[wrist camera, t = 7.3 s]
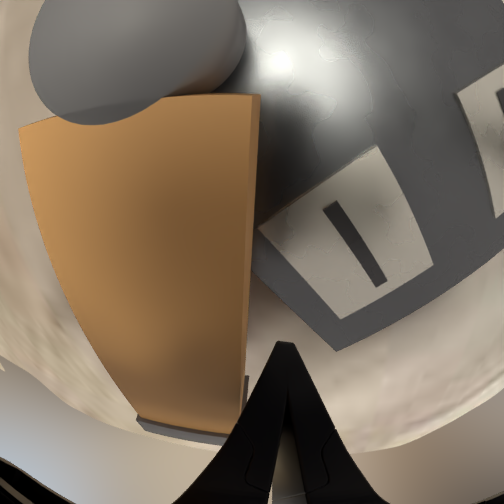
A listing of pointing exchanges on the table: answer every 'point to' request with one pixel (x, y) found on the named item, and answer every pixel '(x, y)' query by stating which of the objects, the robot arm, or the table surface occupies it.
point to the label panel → (373, 153)
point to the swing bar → (150, 198)
